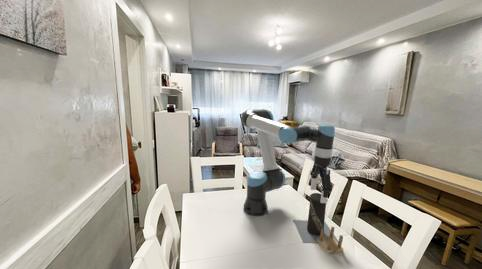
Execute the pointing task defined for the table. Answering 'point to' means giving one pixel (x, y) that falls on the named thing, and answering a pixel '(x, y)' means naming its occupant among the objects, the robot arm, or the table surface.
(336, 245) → the stool
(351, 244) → the table surface
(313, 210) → the container
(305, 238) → the mat
